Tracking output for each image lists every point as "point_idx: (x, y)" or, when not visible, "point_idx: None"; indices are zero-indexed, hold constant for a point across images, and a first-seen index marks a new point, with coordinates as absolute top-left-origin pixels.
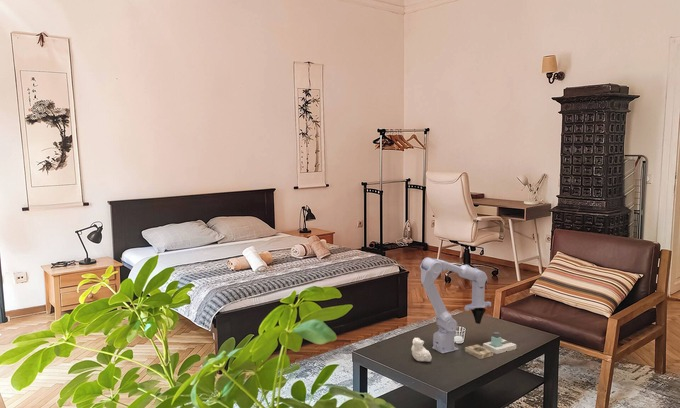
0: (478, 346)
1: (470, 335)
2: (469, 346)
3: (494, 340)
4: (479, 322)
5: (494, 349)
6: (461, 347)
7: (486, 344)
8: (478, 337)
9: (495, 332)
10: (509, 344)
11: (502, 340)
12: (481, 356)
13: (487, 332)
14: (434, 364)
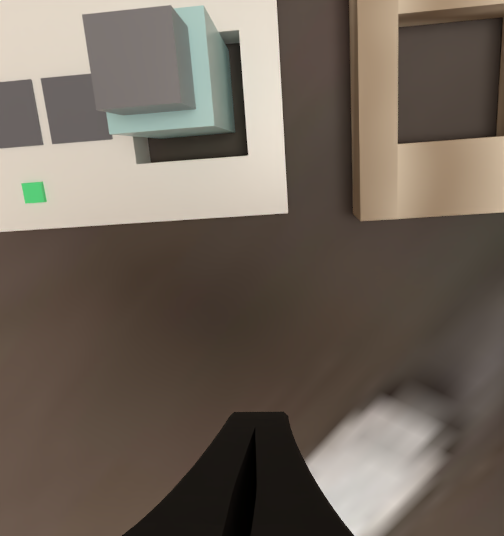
0: (400, 159)
1: None
2: (495, 208)
3: (213, 59)
4: (261, 420)
5: (276, 5)
6: (479, 311)
7: (272, 167)
8: (155, 431)
9: (136, 85)
10: (20, 38)
11: (26, 182)
12: None
13: (7, 483)
14: None
